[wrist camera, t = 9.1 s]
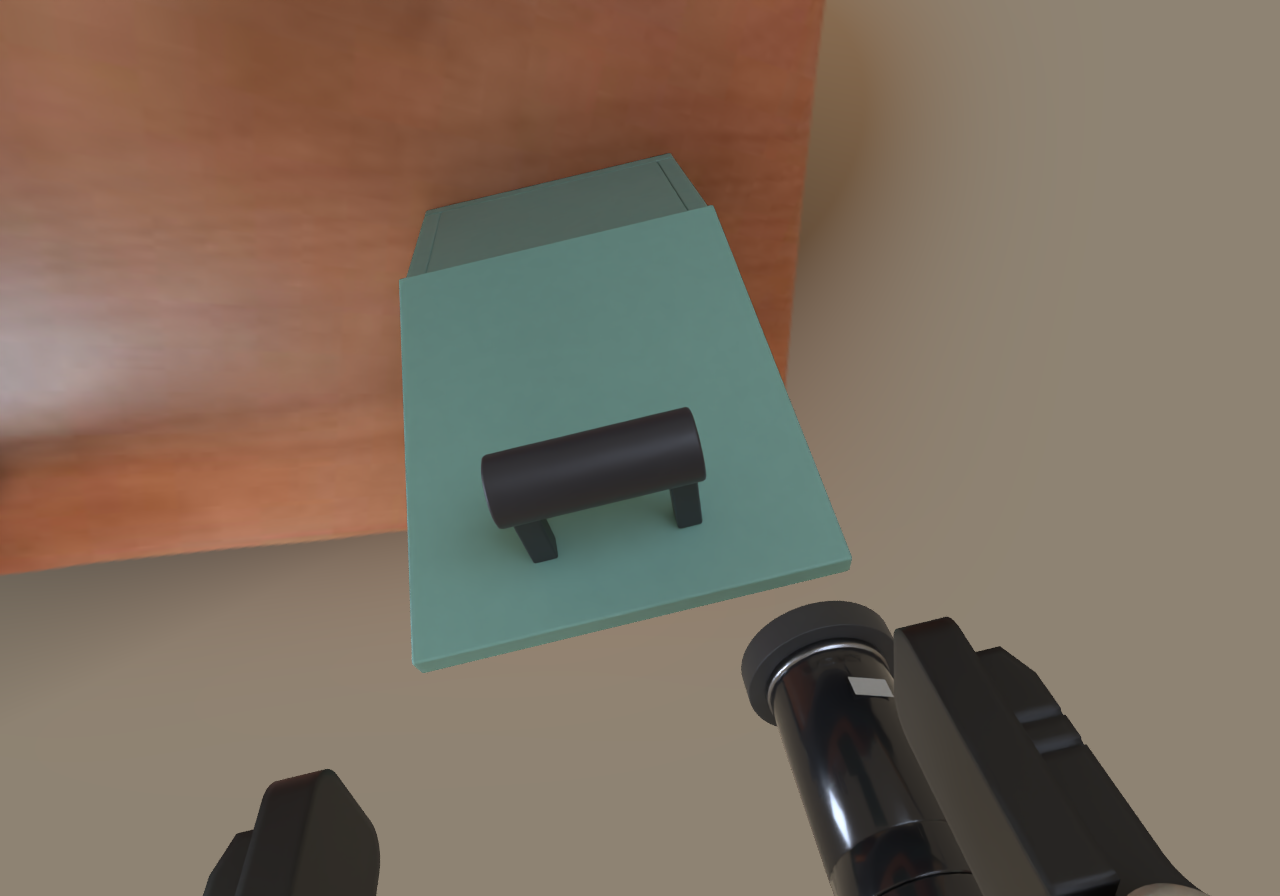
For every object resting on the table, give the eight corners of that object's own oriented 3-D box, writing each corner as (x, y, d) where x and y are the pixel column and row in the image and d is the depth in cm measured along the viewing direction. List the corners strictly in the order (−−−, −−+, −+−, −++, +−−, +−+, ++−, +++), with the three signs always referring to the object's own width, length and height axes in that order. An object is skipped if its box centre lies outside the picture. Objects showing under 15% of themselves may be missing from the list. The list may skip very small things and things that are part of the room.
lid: (850, 571, 21) (874, 470, 16) (422, 674, 21) (335, 600, 16) (714, 221, 29) (706, 93, 24) (406, 294, 29) (345, 178, 24)
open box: (711, 399, 44) (751, 493, 36) (509, 447, 44) (509, 551, 36) (670, 152, 36) (710, 208, 29) (425, 210, 36) (403, 282, 29)
